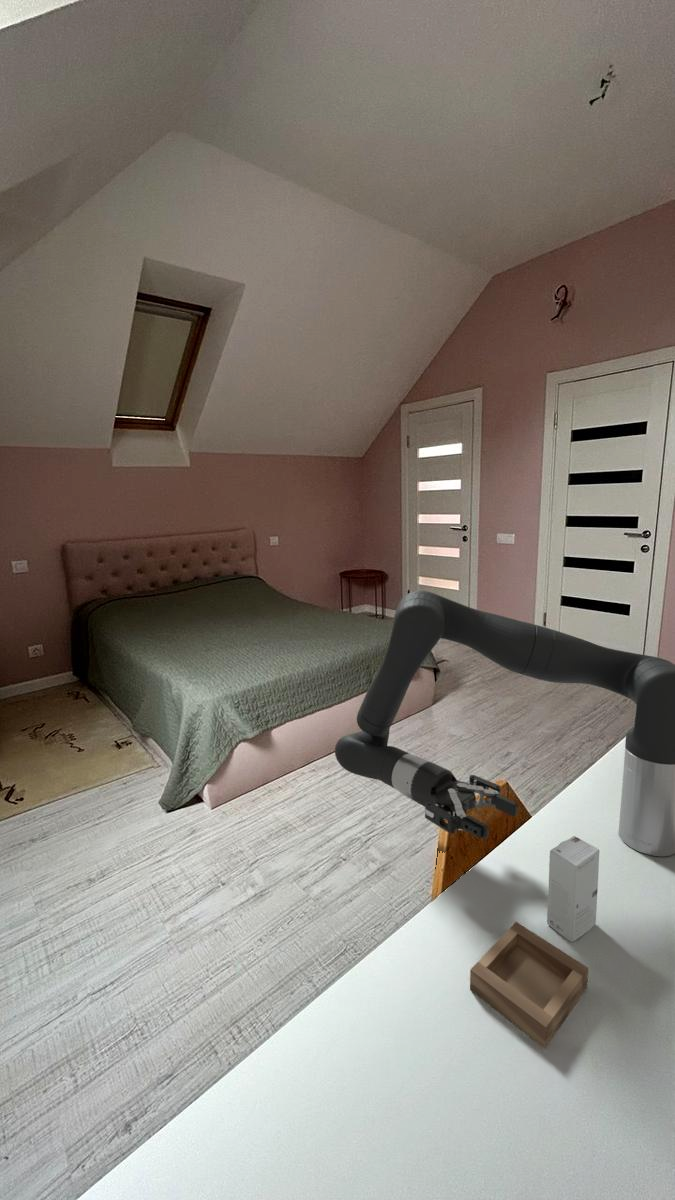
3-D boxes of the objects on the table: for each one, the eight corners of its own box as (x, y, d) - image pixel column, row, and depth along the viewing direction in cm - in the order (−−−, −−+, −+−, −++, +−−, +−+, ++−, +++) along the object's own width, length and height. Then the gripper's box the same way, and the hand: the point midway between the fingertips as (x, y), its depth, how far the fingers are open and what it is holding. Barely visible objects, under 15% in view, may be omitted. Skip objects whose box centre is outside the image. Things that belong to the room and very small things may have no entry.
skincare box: (572, 944, 72) (577, 867, 70) (544, 923, 76) (548, 850, 73) (597, 923, 75) (602, 850, 73) (569, 904, 79) (573, 833, 77)
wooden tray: (515, 939, 73) (516, 921, 72) (587, 987, 66) (588, 967, 65) (470, 989, 66) (470, 969, 65) (544, 1049, 58) (545, 1027, 58)
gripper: (396, 776, 88) (477, 819, 76) (447, 749, 97) (526, 783, 85) (396, 815, 90) (476, 863, 78) (446, 785, 99) (524, 823, 87)
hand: (502, 821), depth 82 cm, fingers open, 8 cm apart
